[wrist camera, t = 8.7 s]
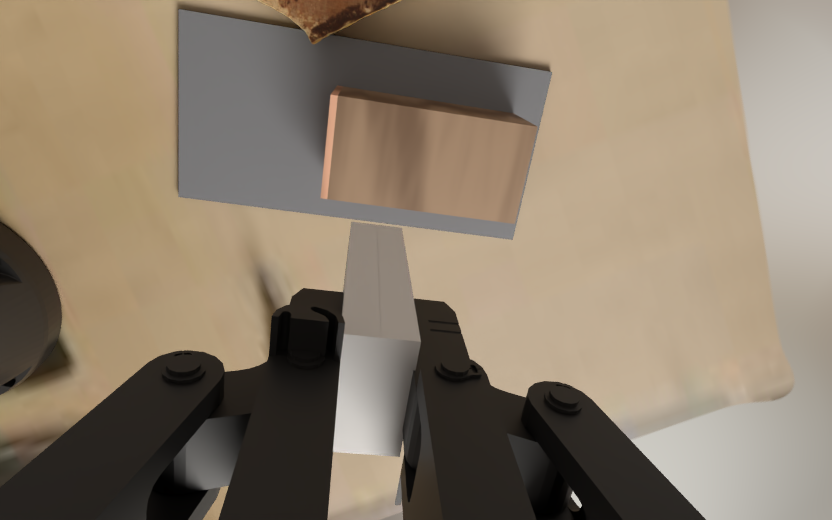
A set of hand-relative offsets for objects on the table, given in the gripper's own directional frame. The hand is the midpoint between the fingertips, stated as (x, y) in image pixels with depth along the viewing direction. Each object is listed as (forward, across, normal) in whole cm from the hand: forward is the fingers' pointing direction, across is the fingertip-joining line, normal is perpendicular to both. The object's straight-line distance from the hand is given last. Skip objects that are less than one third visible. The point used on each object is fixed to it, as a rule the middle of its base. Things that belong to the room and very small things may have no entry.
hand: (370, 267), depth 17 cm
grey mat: (+23, -1, 0) cm, 23 cm away
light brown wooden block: (+20, -3, 0) cm, 20 cm away
